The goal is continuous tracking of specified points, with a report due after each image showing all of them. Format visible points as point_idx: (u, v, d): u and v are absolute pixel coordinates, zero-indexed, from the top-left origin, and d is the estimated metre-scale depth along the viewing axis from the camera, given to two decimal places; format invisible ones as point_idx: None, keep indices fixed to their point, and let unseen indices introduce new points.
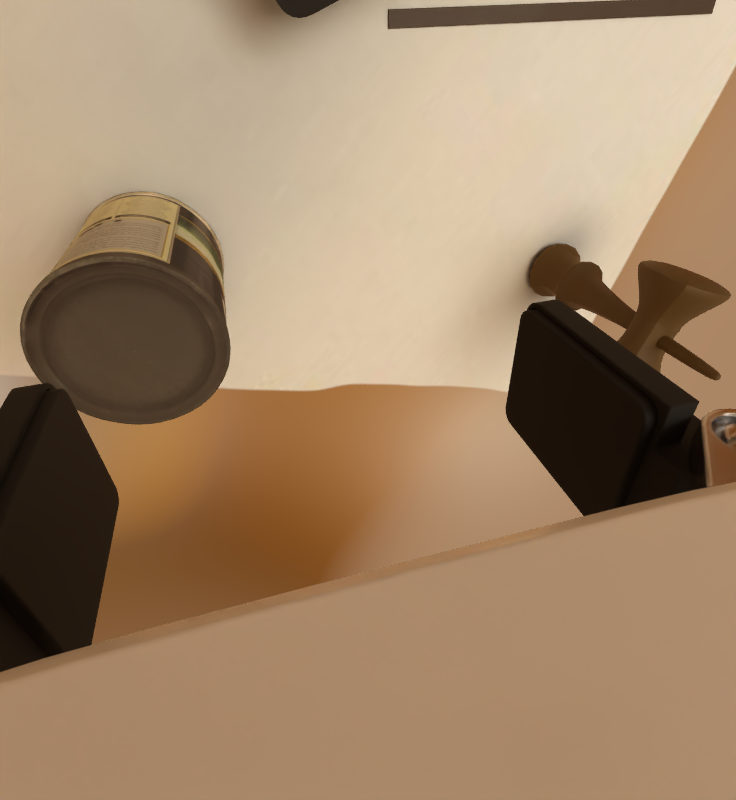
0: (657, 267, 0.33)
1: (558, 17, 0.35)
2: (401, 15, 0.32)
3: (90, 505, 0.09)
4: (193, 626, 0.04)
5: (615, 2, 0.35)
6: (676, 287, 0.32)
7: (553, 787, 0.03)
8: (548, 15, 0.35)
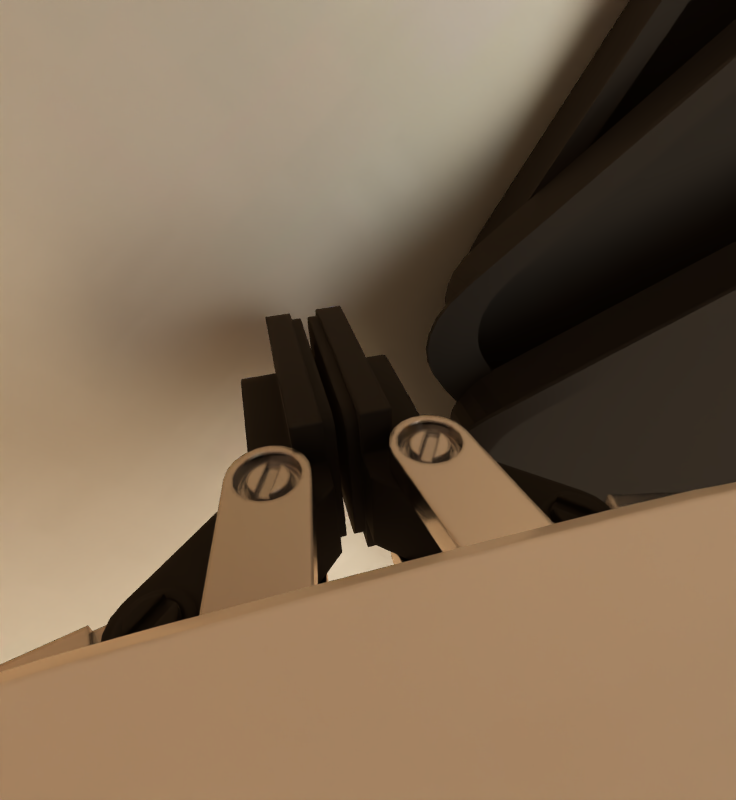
0: None
1: None
2: None
3: None
4: (192, 626, 0.04)
5: None
6: None
7: (552, 787, 0.03)
8: None
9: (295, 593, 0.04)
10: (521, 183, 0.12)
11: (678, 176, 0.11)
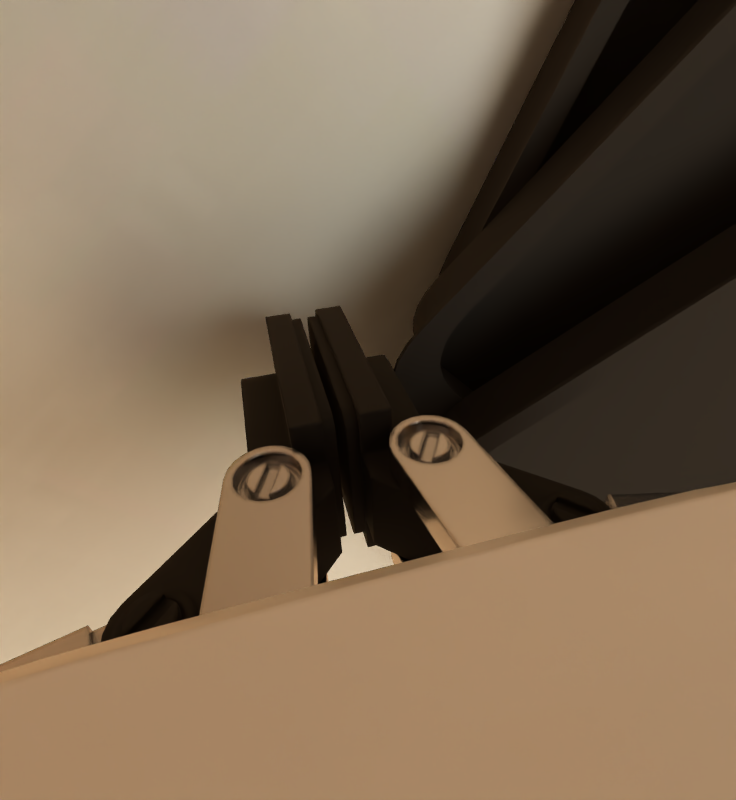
0: None
1: None
2: None
3: None
4: (193, 626, 0.04)
5: None
6: None
7: (553, 787, 0.03)
8: None
9: (295, 593, 0.04)
10: (479, 208, 0.12)
11: (635, 185, 0.11)
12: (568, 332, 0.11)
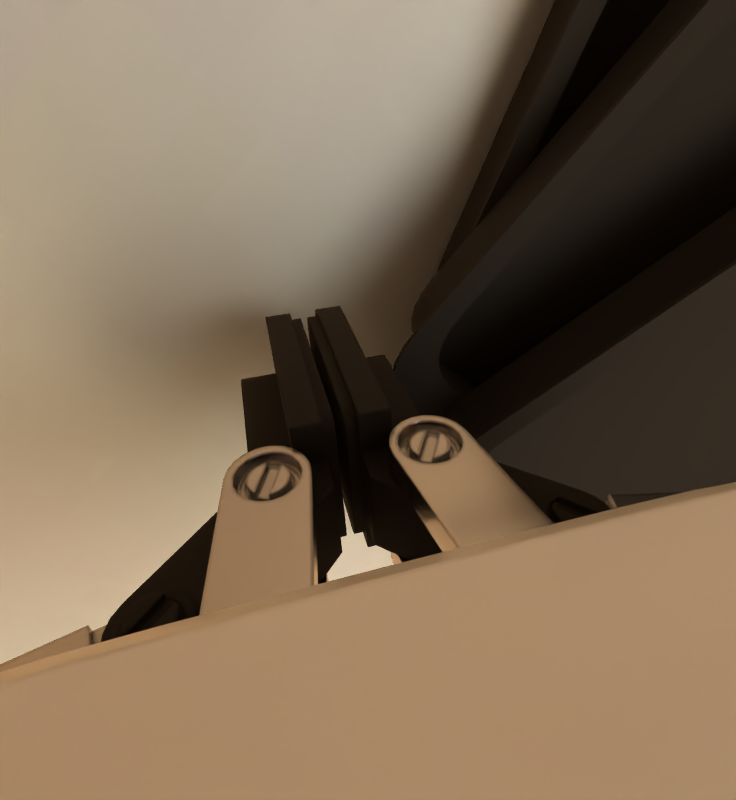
0: None
1: None
2: None
3: None
4: (193, 626, 0.04)
5: None
6: None
7: (552, 787, 0.03)
8: None
9: (295, 593, 0.04)
10: (473, 204, 0.12)
11: (631, 174, 0.11)
12: (567, 326, 0.11)
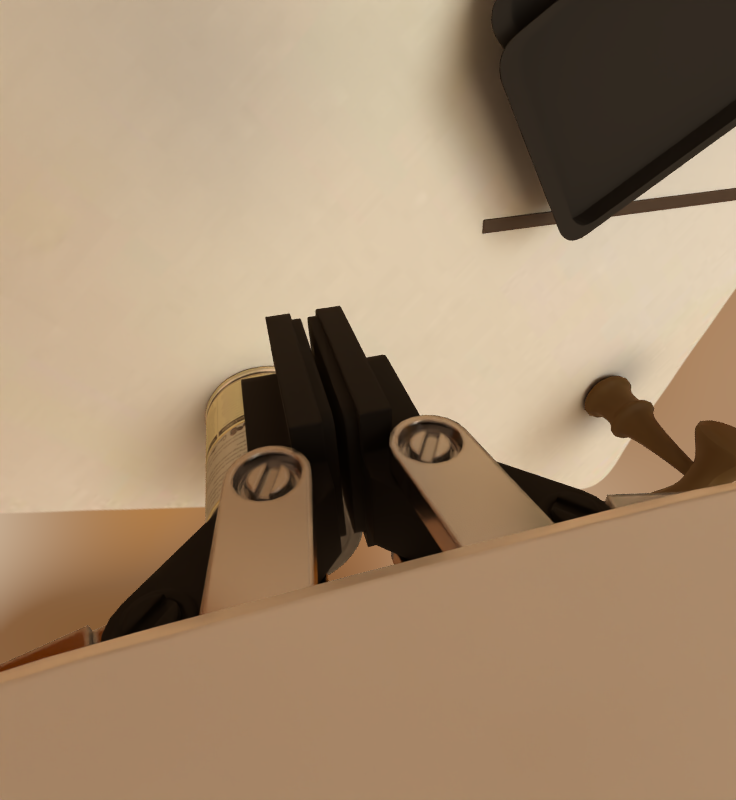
0: (714, 436, 0.38)
1: (625, 211, 0.40)
2: (494, 222, 0.38)
3: None
4: (193, 626, 0.04)
5: (675, 197, 0.40)
6: (733, 460, 0.37)
7: (553, 787, 0.03)
8: None
9: (296, 593, 0.04)
10: None
11: None
12: None
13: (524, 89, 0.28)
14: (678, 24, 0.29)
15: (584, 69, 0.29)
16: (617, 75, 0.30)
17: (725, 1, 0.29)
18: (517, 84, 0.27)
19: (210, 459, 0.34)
